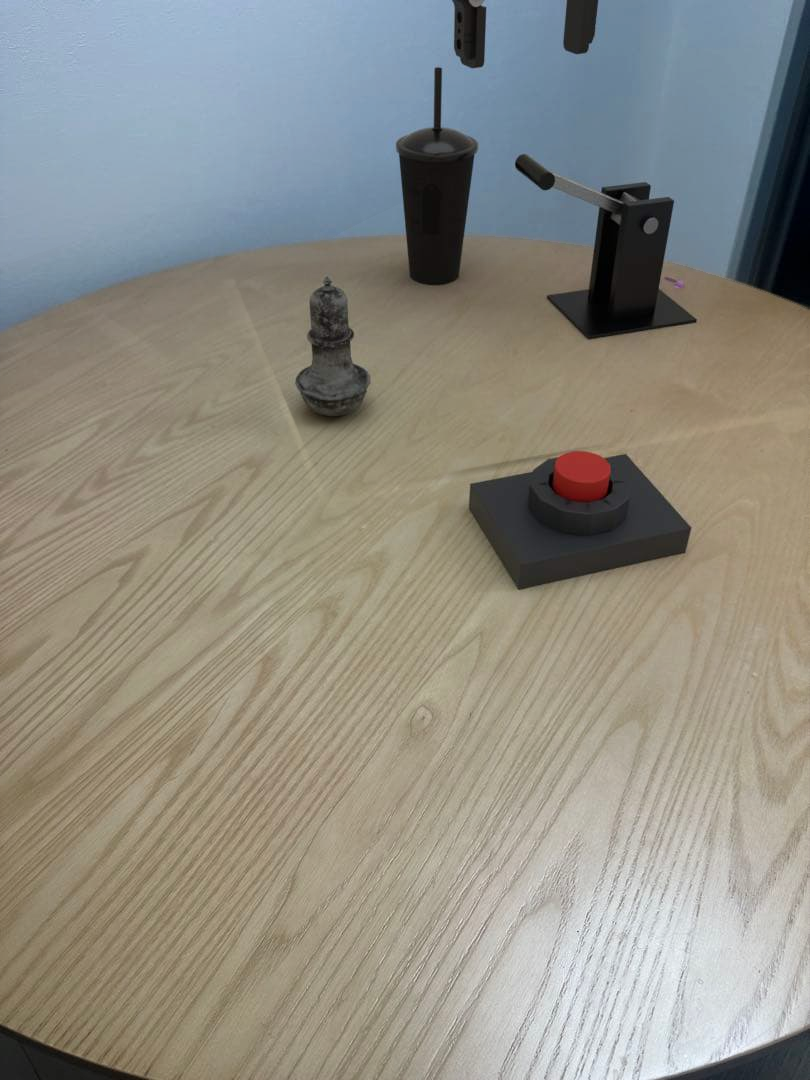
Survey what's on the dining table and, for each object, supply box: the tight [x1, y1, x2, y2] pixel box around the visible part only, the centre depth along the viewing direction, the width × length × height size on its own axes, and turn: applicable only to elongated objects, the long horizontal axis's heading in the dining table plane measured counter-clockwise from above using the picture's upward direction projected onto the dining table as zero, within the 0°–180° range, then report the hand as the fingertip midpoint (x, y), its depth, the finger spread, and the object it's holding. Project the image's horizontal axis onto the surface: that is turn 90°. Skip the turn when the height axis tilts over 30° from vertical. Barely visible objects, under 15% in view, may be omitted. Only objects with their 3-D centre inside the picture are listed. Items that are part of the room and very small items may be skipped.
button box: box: [468, 453, 692, 591], centre depth 63 cm, size 12×9×4 cm
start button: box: [553, 450, 611, 503], centre depth 62 cm, size 4×4×2 cm
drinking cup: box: [395, 66, 479, 286], centre depth 89 cm, size 8×8×20 cm
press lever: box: [514, 153, 641, 225], centre depth 81 cm, size 13×5×2 cm, turn 108°
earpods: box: [664, 276, 685, 289], centre depth 94 cm, size 3×2×2 cm
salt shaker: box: [294, 275, 371, 417], centre depth 72 cm, size 6×6×12 cm
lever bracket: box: [546, 181, 698, 341], centre depth 86 cm, size 11×9×12 cm
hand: (524, 58), depth 66 cm, fingers open, 8 cm apart
